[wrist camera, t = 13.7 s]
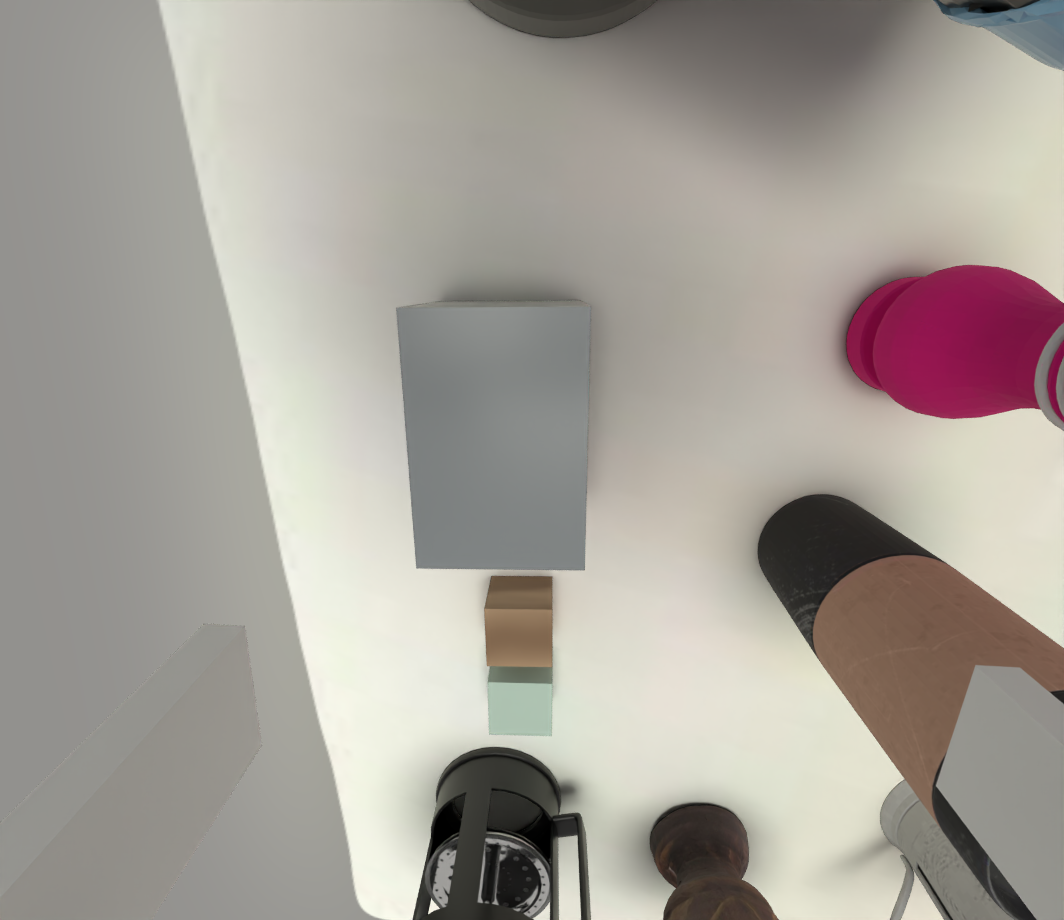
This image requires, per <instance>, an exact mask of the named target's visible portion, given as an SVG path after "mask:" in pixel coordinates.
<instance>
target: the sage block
mask: <svg viewBox="0 0 1064 920" xmlns="http://www.w3.org/2000/svg"><path fill="white" fill-rule="evenodd" d="M488 712H489V734H492V735H528V736H552V667H514V666H490V671H489V677H488Z"/></svg>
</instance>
